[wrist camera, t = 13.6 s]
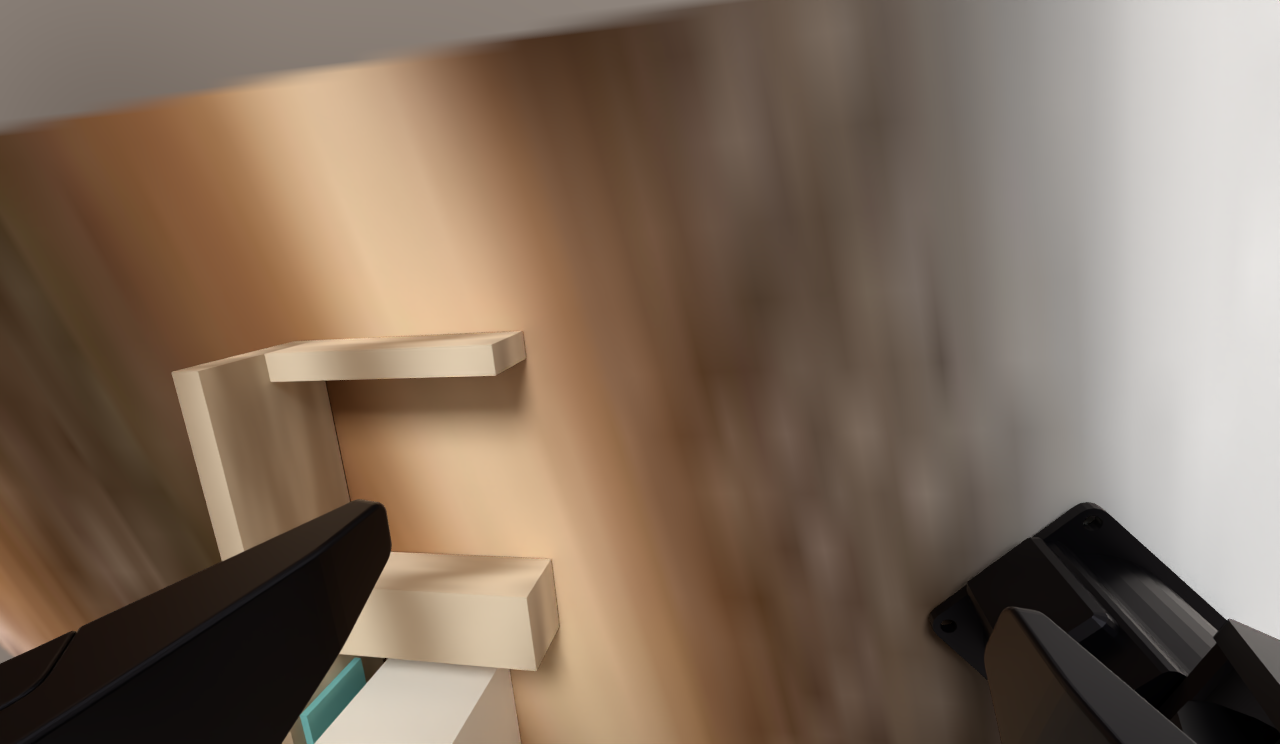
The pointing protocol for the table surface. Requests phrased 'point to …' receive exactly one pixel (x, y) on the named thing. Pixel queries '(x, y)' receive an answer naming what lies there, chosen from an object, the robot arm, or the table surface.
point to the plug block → (429, 706)
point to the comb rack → (315, 484)
